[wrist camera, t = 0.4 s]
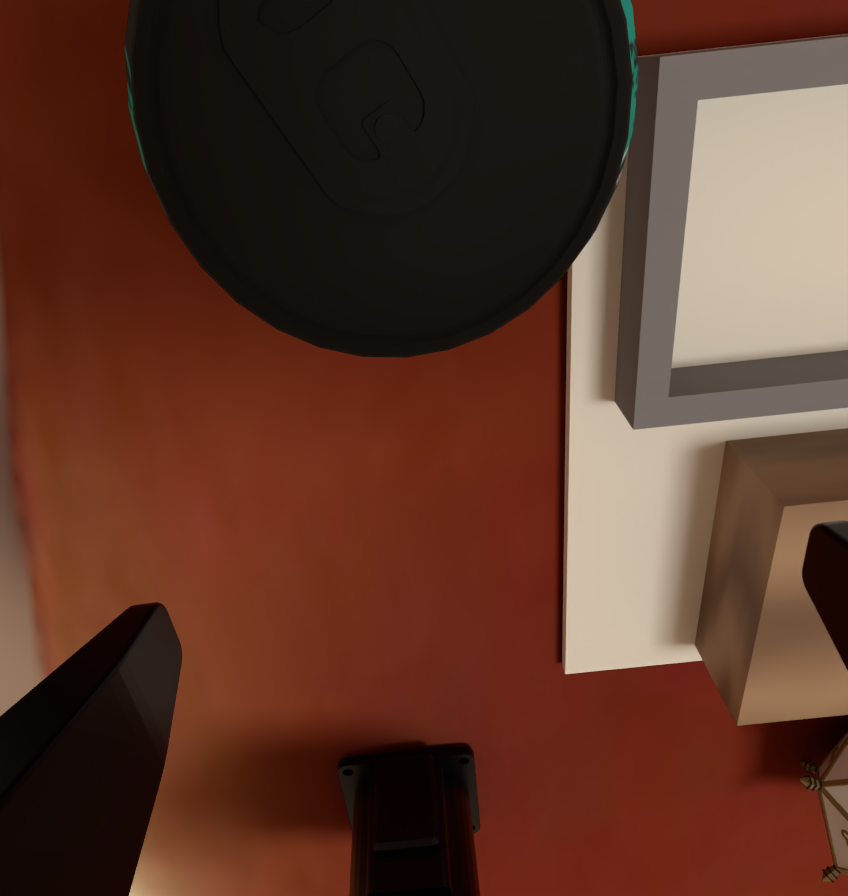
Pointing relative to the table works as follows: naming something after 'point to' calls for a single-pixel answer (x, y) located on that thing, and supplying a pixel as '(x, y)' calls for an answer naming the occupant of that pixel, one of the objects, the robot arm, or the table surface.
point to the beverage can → (383, 154)
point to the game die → (833, 803)
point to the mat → (699, 328)
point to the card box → (772, 579)
